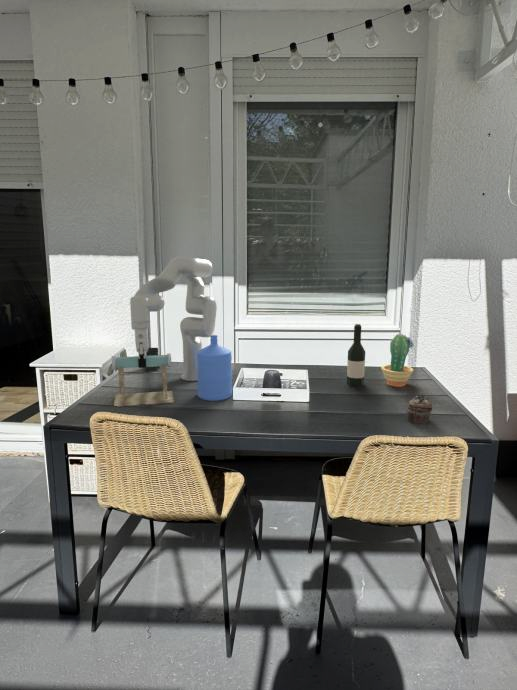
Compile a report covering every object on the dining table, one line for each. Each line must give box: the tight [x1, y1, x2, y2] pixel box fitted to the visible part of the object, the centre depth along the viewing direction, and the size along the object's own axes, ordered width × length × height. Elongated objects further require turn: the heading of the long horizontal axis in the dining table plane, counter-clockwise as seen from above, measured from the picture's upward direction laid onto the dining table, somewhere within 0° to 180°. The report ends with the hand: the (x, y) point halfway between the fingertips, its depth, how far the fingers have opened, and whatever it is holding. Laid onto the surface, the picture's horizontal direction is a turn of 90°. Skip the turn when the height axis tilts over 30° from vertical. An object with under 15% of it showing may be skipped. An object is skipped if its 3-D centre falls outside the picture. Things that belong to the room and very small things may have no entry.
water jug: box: [197, 334, 233, 402], centre depth 221 cm, size 16×16×28 cm
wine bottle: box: [346, 323, 366, 388], centre depth 238 cm, size 8×8×30 cm
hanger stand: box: [113, 365, 174, 407], centre depth 216 cm, size 25×12×16 cm, turn 103°
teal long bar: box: [111, 353, 172, 371], centre depth 214 cm, size 25×6×6 cm, turn 103°
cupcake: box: [405, 394, 433, 424], centre depth 194 cm, size 10×10×10 cm
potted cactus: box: [380, 333, 414, 388], centre depth 239 cm, size 15×15×25 cm
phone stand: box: [145, 347, 161, 372], centre depth 267 cm, size 9×6×12 cm, turn 178°
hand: (142, 365), depth 214 cm, fingers closed on teal long bar, 4 cm apart
